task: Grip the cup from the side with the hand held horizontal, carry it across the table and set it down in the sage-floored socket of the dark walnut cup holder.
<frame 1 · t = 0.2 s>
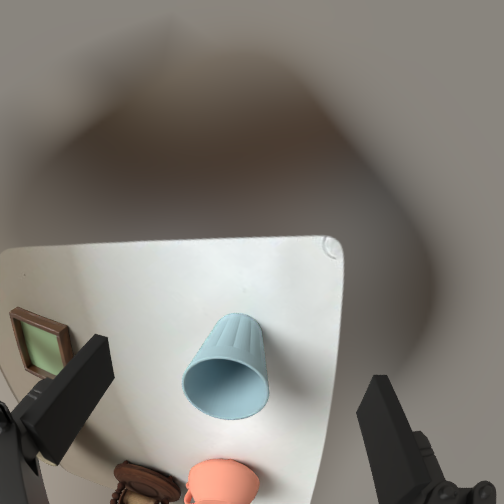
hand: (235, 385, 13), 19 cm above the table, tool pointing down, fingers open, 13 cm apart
sugar bowl: (221, 470, 42), on the table
cup holder: (47, 347, 38), on the table
cup: (238, 332, 34), on the table
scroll: (149, 477, 45), on the table
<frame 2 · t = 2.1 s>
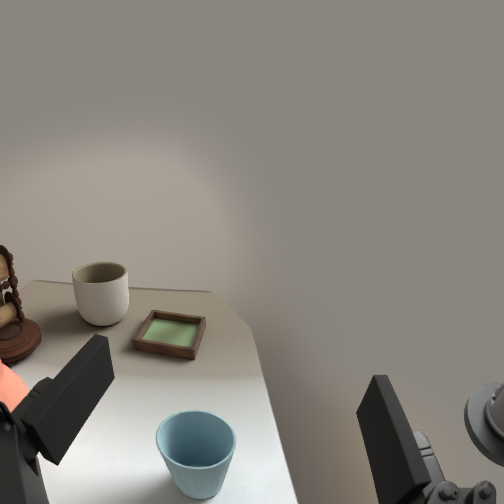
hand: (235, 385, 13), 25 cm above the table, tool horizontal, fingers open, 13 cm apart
planter: (104, 317, 59), on the table
sugar bowl: (7, 413, 27), on the table
cup holder: (171, 337, 56), on the table
cup: (199, 482, 27), on the table
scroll: (12, 347, 41), on the table
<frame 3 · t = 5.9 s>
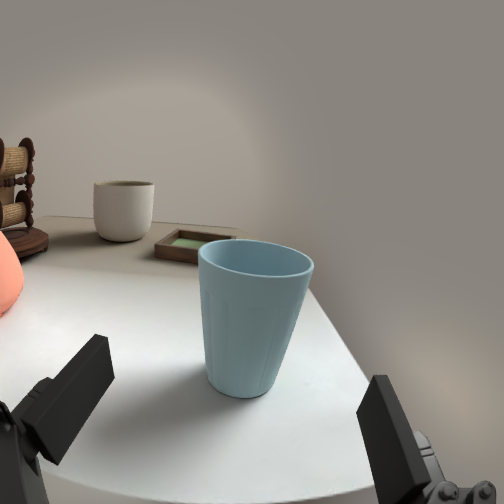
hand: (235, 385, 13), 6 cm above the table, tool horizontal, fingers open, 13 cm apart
planter: (122, 237, 56), on the table
cup holder: (197, 251, 53), on the table
cup: (240, 377, 23), on the table
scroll: (13, 255, 38), on the table
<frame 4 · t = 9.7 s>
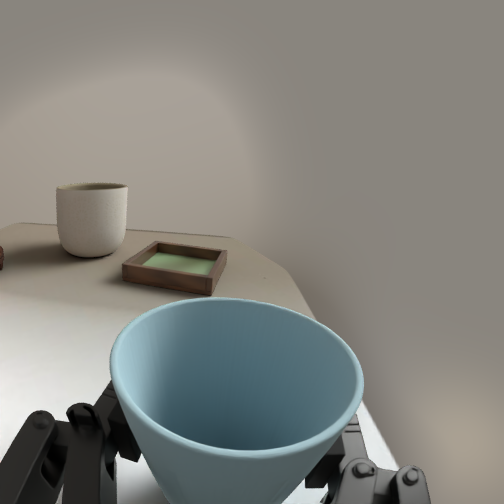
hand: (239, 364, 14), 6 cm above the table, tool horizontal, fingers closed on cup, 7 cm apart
planter: (92, 251, 45), on the table
cup holder: (178, 271, 41), on the table
cup: (220, 496, 11), on the table, touching gripper
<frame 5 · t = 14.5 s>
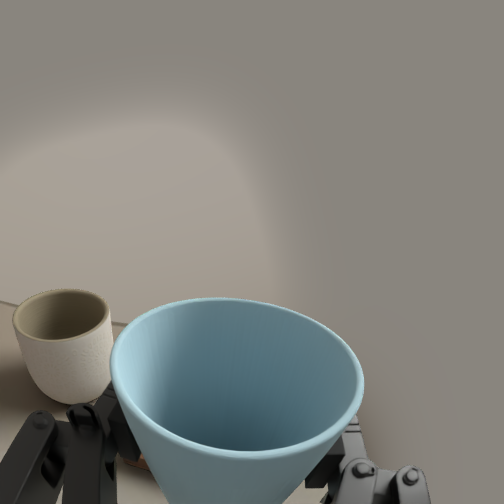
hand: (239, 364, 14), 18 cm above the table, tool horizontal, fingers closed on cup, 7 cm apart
planter: (76, 383, 31), on the table
cup: (220, 496, 11), point 12 cm above the table, touching gripper
when the fingers open (7 cm above the table, at t = 19.8 s): cup stays where it is, resting on cup holder.
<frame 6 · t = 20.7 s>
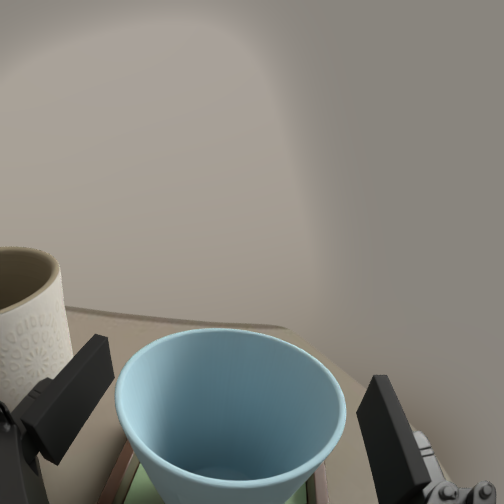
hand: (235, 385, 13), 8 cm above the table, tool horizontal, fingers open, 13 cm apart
planter: (20, 400, 15), on the table
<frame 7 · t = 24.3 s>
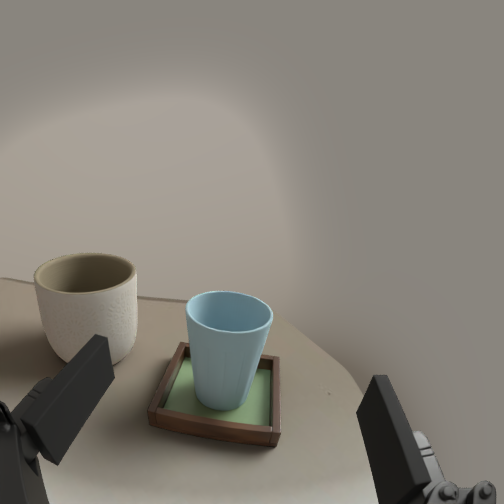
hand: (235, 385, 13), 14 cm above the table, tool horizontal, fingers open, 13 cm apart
planter: (94, 350, 32), on the table
cup holder: (220, 397, 29), on the table
cup: (221, 394, 29), point 1 cm above the table, touching cup holder
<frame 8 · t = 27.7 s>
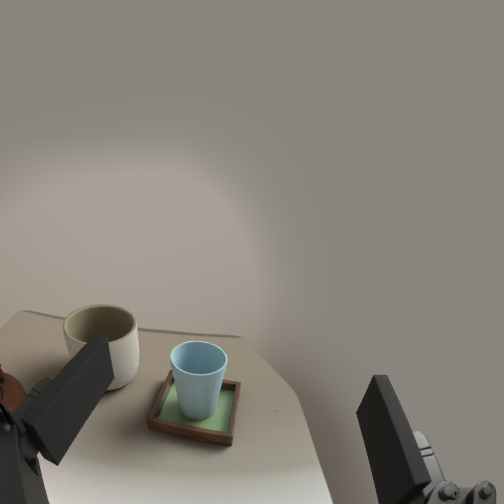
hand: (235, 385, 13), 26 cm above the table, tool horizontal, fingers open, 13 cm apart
planter: (108, 375, 44), on the table
cup holder: (197, 410, 40), on the table
cup: (197, 408, 40), point 1 cm above the table, touching cup holder
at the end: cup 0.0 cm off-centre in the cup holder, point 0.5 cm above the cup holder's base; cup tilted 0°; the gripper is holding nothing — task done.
